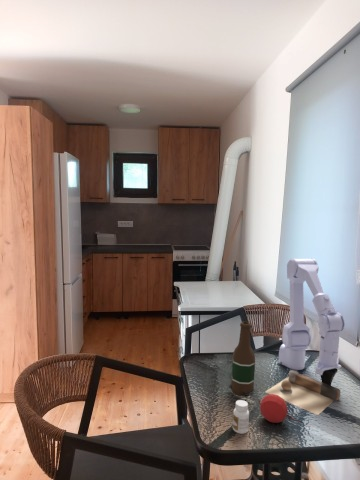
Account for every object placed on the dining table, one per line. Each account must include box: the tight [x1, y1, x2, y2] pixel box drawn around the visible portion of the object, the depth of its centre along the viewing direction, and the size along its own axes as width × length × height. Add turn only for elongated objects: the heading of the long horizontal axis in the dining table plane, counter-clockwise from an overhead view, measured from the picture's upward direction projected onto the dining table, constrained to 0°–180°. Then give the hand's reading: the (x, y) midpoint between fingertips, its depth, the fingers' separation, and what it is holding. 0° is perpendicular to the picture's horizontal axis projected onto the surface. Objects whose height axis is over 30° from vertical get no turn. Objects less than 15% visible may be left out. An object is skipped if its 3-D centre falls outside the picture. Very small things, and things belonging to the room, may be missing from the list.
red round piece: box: [259, 393, 289, 424], centre depth 105 cm, size 8×8×8 cm
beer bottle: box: [230, 321, 256, 397], centre depth 120 cm, size 8×8×24 cm
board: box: [264, 376, 335, 416], centre depth 118 cm, size 18×17×5 cm
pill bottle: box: [232, 399, 250, 435], centre depth 100 cm, size 4×4×8 cm
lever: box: [288, 369, 341, 402], centre depth 121 cm, size 18×3×3 cm, turn 43°
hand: (325, 388), depth 119 cm, fingers closed
